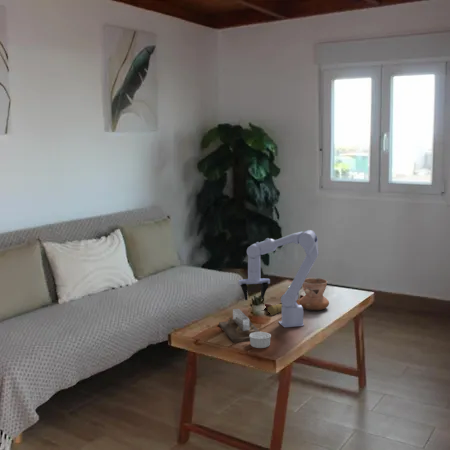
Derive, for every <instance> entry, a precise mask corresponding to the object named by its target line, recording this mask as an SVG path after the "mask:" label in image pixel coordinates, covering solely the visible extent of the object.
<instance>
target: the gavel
mask: <svg viewBox="0 0 450 450" xmlns="http://www.w3.org/2000/svg"><path fill="white" fill-rule="evenodd" d="M251 303H252V302H249V305H250V306H252V305H251ZM264 304H265V306H266V309H265V310H267V312H268V311H269V312H270V314H269V315H271V316H276V315H277V314H279V313H282V303H281V302H280V303H278V304H274V305H272V304H268V303H264Z"/></svg>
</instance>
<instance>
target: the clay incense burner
mask: <svg viewBox="0 0 450 450" xmlns="http://www.w3.org/2000/svg"><path fill="white" fill-rule="evenodd" d="M327 284H328V281H327V280H326V279H324V278H320V277H306V279H305V281H304V283H303V285H302V288H303V291H304V293H305V295H303V296H302V297H301V298H300V299H299V301H298V302H299V305H302V307H303V310H304V309H305V310H308V311H312V312H313V311H323V310H325V309H327V308H328V307H329V305H330V302H329V299H327V297H325V295H324V293H325V291H326V289H327V286H328V285H327Z"/></svg>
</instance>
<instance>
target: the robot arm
mask: <svg viewBox="0 0 450 450" xmlns="http://www.w3.org/2000/svg"><path fill="white" fill-rule="evenodd" d="M288 244H296V245H300V246H301V247H302V249H303V250H304V252H305V257H304V259H303V261H302V263H301V264H300V267H299V268H298V270H297V272H296V274H295V276H294V277H293V280H292V282H291V284H290V285H289V287H288V289H287V290H286V291H285V293H284V294H282V295H281V297H280V303H282V312H281V320H279V321H278V323H279V324H280V325H281V326H282V327H284V328H293V327H303V326H304V325H305V324H304V308H303V307H302V305H300V304H298V302H297V301H298V299H299V293H300V291H301V288H303V286H302V285H303V283H304V281H305V279H306V278H308V276H309V273H310V271H311V269H312V268H313V266H314V264H315V262H316V260H317V259H318V258H319V238H318V236H317V235H316V232H315V230H311V229H307V230H305V231H298V232H293V233H291V234H287V235H286V236H283V237H280V238H278V239H277V238H276V239H274V238H269V237H267V238H265V239H264V240H263V241H260V242H259V241H256V242H255V243H252V244H251V245H250V246H248V247H247V249H246V254H247V259H248V260H247V278H244V279H238V283H237V284H238V286H240V287H241V289H242V292H243V296H244V300H245V301H248V288H249V287H248V285H257V284H260V299H261V300H264V299H265V294H266V292H267V289H268V288H269V285H270V284H271V279H270V278H267V277H266V278H264V277H263V278H261V276H262V275H261V272H262V270H261V269H262V267H261V264H262V263H261V255H262V256H263V255H266V254H269V253H273V252H275V251H276V250H277V248H278V247H281V246H285V245H288Z"/></svg>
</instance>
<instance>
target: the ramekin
mask: <svg viewBox="0 0 450 450" xmlns="http://www.w3.org/2000/svg"><path fill="white" fill-rule="evenodd" d="M249 337H250V341H249V342H250V343H249V344H250V346H251V347H253V348H256V349H264V348H265V349H266V348H268V347H270V345H271V338H272V334H271V333H268V332H265V331H260V332H253V333H251V334H250V335H249Z"/></svg>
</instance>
